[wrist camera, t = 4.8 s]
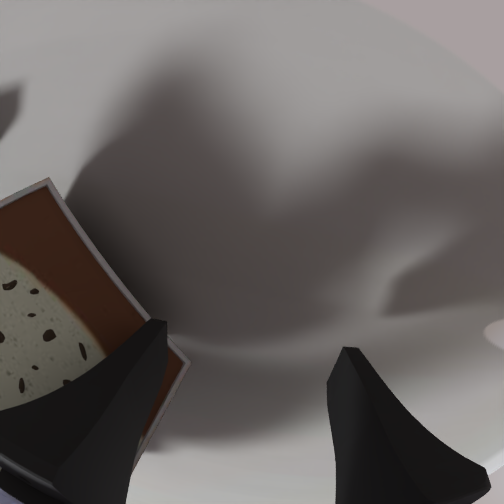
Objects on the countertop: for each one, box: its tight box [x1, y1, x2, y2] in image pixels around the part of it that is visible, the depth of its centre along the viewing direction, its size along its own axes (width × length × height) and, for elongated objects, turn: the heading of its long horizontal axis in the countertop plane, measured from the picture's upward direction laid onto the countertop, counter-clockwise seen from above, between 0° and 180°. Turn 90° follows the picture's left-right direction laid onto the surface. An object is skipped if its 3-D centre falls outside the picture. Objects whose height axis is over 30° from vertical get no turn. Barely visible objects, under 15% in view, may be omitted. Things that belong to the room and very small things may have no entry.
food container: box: [0, 177, 192, 474], centre depth 9 cm, size 12×6×10 cm, turn 33°
